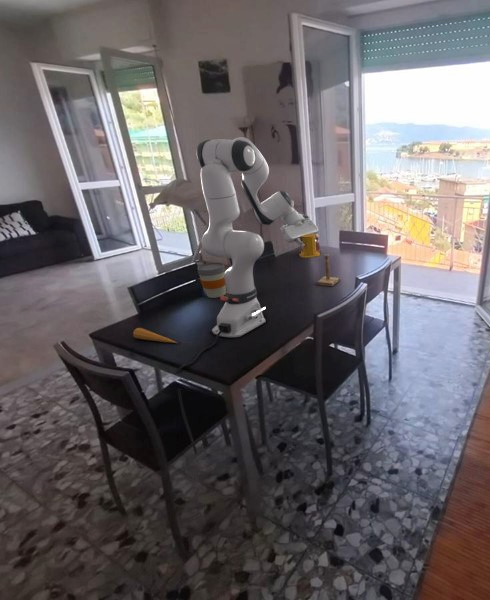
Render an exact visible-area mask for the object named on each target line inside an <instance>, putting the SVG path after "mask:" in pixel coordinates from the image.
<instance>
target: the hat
mask: <svg viewBox="0 0 490 600" xmlns="http://www.w3.org/2000/svg"><path fill="white" fill-rule="evenodd" d="M302 242H304V243H305V244H306V246H305V247H303V252H302V253H301V252H300V253H299V254H298V255H299V257H301V258H304V259H312V258H317V257H320V255H321V252H320V253H319V252H317V251H316V241H315V234H306V235H303V236H302Z"/></svg>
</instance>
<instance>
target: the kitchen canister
mask: <svg viewBox="0 0 490 600" xmlns="http://www.w3.org/2000/svg"><path fill="white" fill-rule="evenodd" d="M319 237H320V235H319V234H318V233H317V234H316V235H315V239H316V240H317V242H316V251H317V252H319V253H320V254H321V248H320V247H321V246H320V240H319ZM300 241H302V239H301V240H300ZM299 247H300V253H302V252H303V247H301V245H299Z"/></svg>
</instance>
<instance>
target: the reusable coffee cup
mask: <svg viewBox="0 0 490 600" xmlns="http://www.w3.org/2000/svg"><path fill="white" fill-rule="evenodd" d="M225 272H226V268H225V264H224V263H223V262H218V261H217V262H216V261H214V262H206V263H203V264H200V265H199V266H197V275H198V276H199V281H200V283H201V286H202V288H203V289H204V291H205V294H206V296H207V298H210V299H216V298H221V296H226V291H227V288H226V283H225V278H224V274H225Z"/></svg>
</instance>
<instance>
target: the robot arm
mask: <svg viewBox="0 0 490 600" xmlns="http://www.w3.org/2000/svg"><path fill="white" fill-rule="evenodd" d="M196 158H197V161H198V164H199V165H200V167H201V169H200V181H201V189H202V193H203V197H204V200H205V201H204V202H205V204H206V208H207V212H208V218H209V221H208V222H209V223H208V228H207V230H206V231H205V232H204V234H203V235H202V238H201V247H202V249H203V251H204V253H206V254H207V255H210V256H213V257H216V258H222V259H223V258H225V259H231V266H230V267H228V268H227V269H225V274H224V278H225V283H226V294H225V295H223V296H221V297H220V301H222V302H223V301H224V302H225V303H224V304H223V306H222V307H221V309H220V312H219V313H218V314H217V316H216V325H215V326H214V327H213V328H212V329H211V332H212V334H214V335H215V339H214V341H213V342H212V343H211V344H209V345H208V346H206V347H204V348H203V349H201V350H200V351H199V352H198V353H197V355H196V356H195V357H194V358H193V359H192V360H191V361H190V362H187V363H184V364H182V365H181V366H179V368H177V370H176V374H177V375H178V374H180V372H181V371H182V369H184V368H186V367H188V366H190V365H193V364H194V363H195V362H196V361H197V360H198V359H199V357H200V356H201V355H202V354H203V353H204V352H205V351H207V350H209V349H211V348H213V347H214V346H215V345H216V344H217V342H218V339H219V337H222V338H223V337H224V338H240V337H242V336H243V335H245V334H247V333H249V332H251V331H253V330H254V329H256V328H258V327H260V326H261V325H263V324H264V323H266V322H267V321H266V318H265V317H264V314H263V311H264V310H266V306H264V307H261V304H260V302H259V300H258V298H257V297H258V290H257V288H256V286H255V280H254V266H255V263H256V262H257V260H258V259H260V257H262V255H263V254H264V250H265V242H264V239H263V237H262V236H261V235H260V234H258V233H256V232H251V231H249V230H234V228H233V222H234V221H237V220H238V219H239V216H240V215H241V208H240V204H239V200H238V196H237V191H236V188H235V184H234V182H233V178H232V173H234V172H241V176H242V179H241V183H240V184H241V187H242V190H243V192H244V194H245V196H246V198H247V200H248V202H249V204H250V206H251V207H252V210H253V211H254V214H255V218H256V219H257V220H258V222H259V223H260V224H262V225H267V226H270V225H271V224H273V223H274V222H275V221H276V220H277V219H279V218H280V219H281V221H282V223H283V224H282V225H280V226H279V231H280V233H281V234H282V236H283V238H284V239H285V241H286V242H287V243H289V244H291V243H294V242H295V243H296V244H298V245H299V246H300V245H301V246H300V248H301V247H305V246H306V244H305V243H304V242H302V241H300V240H301V239H302V236H303V235H306V234H315V235H316V234H317V235H318V233H319V227H318V226H317V225H316V223H315V222H314V221H313V220H312V219H311V217H310V216H309V215H308V214H303V213H302V214H301V213H299V212H298V211H297V210H296V209H295V207H294V206H295V201H294V200H293V199H292V198H291V197H290V195H289V193H288V192H287V191H284V190H278V191H277V192H275V193H273V194H272V195H271V196H270V197H268V198H267V199H265V200H264V201H262V202H260V199H259V198H258V197H259V196H258V192H259V191H260V188H261V186H263V185H264V183H266V181H267V179H268V177H269V173H270V167H269V165H268V162H267V160H266V158H265V157H264V156H263V154H262V152H261V151H260V150H259V149H258V147H257V146H256V145H255V144H254V143H253V142H252V141H251V140H250V139H249V138H247V137H245V136H239V137H235V138H234V139H225V138H219V139H217V138H216V139H206V140H203V141H201V142H199V143H198V145H197V147H196ZM315 241H316V242H317V240H316V239H315ZM177 395H178V402H179V406H180V411H181V414H182V418H183V422H184V424H185V427H186V431H187V433H188V437H189V439H190V442H191V445H192V448H193V453H194V455H197V454H198V451H197V445H196V444H195V440H194V437H193V434H192V430H191V427H190V424H189V422H188V419H187V415H186V411H185V408H184V403H183V398H182V397H183V396H182V390H181V387H179V388H177Z"/></svg>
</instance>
